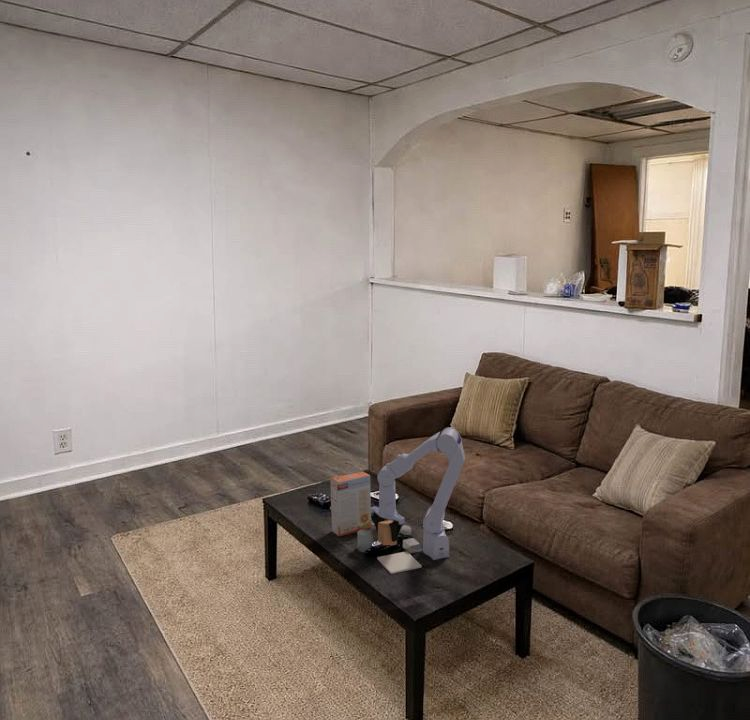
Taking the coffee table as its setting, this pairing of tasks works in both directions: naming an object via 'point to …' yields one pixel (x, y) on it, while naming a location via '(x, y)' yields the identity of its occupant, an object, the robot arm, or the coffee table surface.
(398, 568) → the ceramic tile
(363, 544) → the grey rounded capsule
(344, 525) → the cracker box
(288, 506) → the coffee table surface
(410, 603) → the coffee table surface
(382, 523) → the terracotta block
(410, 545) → the metal tin
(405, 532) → the matte grey ellipsoid
